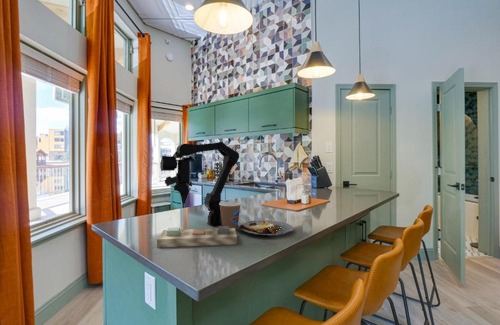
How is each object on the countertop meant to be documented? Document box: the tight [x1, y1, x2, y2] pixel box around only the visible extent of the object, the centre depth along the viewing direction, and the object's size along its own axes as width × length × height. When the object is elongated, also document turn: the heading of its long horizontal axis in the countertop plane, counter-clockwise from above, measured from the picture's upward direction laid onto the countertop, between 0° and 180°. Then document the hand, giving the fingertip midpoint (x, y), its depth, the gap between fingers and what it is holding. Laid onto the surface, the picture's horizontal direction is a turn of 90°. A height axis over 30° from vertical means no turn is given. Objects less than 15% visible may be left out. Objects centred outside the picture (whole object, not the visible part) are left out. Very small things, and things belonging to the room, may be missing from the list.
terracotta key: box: [193, 230, 205, 235], centre depth 102 cm, size 4×4×4 cm
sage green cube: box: [166, 226, 181, 236], centre depth 101 cm, size 4×4×4 cm
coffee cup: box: [219, 201, 242, 231], centre depth 120 cm, size 10×10×12 cm
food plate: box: [238, 219, 295, 237], centre depth 117 cm, size 25×23×4 cm
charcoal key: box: [217, 225, 229, 234], centre depth 103 cm, size 4×4×4 cm
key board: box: [156, 228, 238, 248], centre depth 102 cm, size 30×12×3 cm, turn 98°
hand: (183, 203), depth 119 cm, fingers closed
